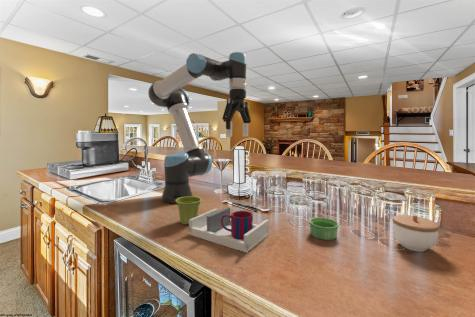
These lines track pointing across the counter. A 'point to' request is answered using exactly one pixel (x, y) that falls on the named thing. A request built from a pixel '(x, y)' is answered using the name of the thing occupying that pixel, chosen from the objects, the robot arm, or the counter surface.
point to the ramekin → (323, 228)
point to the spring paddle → (218, 220)
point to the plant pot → (188, 208)
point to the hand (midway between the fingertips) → (237, 136)
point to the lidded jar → (415, 232)
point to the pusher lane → (228, 233)
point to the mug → (239, 223)
